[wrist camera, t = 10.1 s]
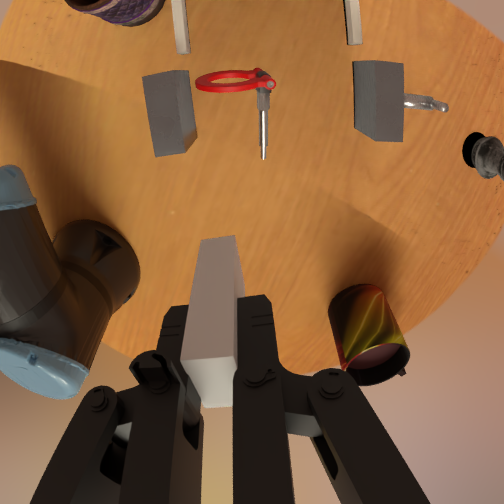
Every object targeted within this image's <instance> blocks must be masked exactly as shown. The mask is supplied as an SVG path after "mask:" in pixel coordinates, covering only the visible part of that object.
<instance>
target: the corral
mask: <svg viewBox="0 0 504 504" xmlns="http://www.w3.org/2000/svg"><path fill="white" fill-rule="evenodd" d="M171 1H172V12H173V22H174V31H175V40H176V49H177V54H181V55H184V54H189V53H191V48H190V39H189V30H188V20H187V10H186V0H171ZM343 7H344V17H345V28H346V40H347V45H360V44H363V42H362V29H361V18H360V8H359V0H343Z"/></svg>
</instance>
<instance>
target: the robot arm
mask: <svg viewBox="0 0 504 504" xmlns="http://www.w3.org/2000/svg"><path fill="white" fill-rule="evenodd" d="M36 203H37V200H36V198H34V197H33V195H32V193H31V191H30V188H29V186H28V183H27V181H26V178H25V176H24V174H23V172H22V170H21V169H20V168H19V167H17V166H15V165H5V166H1V167H0V370H1V371H2V372H3V373H4V374H5V375H7V376H8V377H9V378H11V379H12V380H13V381H15V382H16V383H18V384H19V385H21V386H23V387H24V388H26V389H28V390H31V391H32V392H35V393H37V394H40V395H43V396H46V397H49V398H54V399H69V398H72V397H74V396H75V395H76V394H77V393H78V392H79V390H80V388H81V386H82V384H83V382H84V380H85V377H87V376H88V374H89V370H90V368H91V365H92V362H93V360H94V357H95V354H96V352H97V349H98V347H99V344H100V342H101V339H102V337H103V334H104V332H105V330H106V327H107V325H108V322H109V320H110V318H111V316H112V314H114V313H115V312H116V311H117V310H118V309H119V308H120V307H121V306H122V305H123V304H124V303H126V302H127V301H128V300H129V299H130V298H131V297H132V296H133V295H134V293H135V291H136V289H137V287H138V285H139V281H140V266H139V262H138V259H137V257H136V254H135V252H134V251H133V249H132V247H131V246H130V245H129V243H128V242H127V241H126V240H125V239H124V238H123V237H122V236H121V235H120V234H119V233H118V232H116V231H115V230H113V229H112V228H110V227H109V226H107V225H105V224H102V223H100V222H97V221H92V220H77V221H73V222H70V223H68V224H67V225H65V226H64V227H63V228H62V229H61V230H60V231H59V232H58V233H57V235H56V236H55V238H54V240H53V243H52V242H51V240H50V237H49V235H48V233H47V230H46V228H45V226H44V223H43V221H42V218H41V216H40V213H39V211H38V208H37V206H36ZM159 336H160V338H159V340H158V344H157V348H156V350H151V351H146V352H144V353H142V354H140V355H138V356H137V357H136V358H135V359H134V360H133V361H132V362H131V364H130V366H129V369H130V371H131V372H132V374H133V375H134V377H135V378H136V380H137V381H138V383H139V385H138V386H135V387H133V388H130V389H126V390H123V391H120V392H115V391H114V390H113V389H112V388H110V387H108V386H98V387H94V388H93V389H91V390H90V391H89V392H88V393H87V394H86V395H85V396H84V398H83V400H82V402H81V403H80V405H79V407H78V409H77V410H76V412H75V414H74V416H73V418H72V420H71V421H70V423H69V425H68V427H67V429H66V431H65V433H64V435H63V436H62V438H61V440H60V442H59V444H58V446H57V448H56V450H55V452H54V454H53V456H52V458H51V460H50V462H49V464H48V466H47V468H46V470H45V472H44V474H43V476H42V478H41V480H40V482H39V484H38V487H37V489H36V491H35V493H34V495H33V497H32V500H31V502H30V504H201V478H202V453H203V452H202V451H203V432H204V420H203V416H202V415H201V413H200V406H201V402H202V404H203V406H204V407H205V408H213V407H230V406H233V504H295V498H294V488H293V478H292V469H291V460H290V450H289V441H288V433H289V434H296V435H301V436H308V437H310V439H311V441H312V443H313V445H314V447H315V449H316V452H317V454H318V456H319V458H320V460H321V462H322V465H323V466H324V468H325V471H326V473H327V475H328V477H329V479H330V481H331V484H332V486H333V488H334V490H335V492H336V494H337V496H338V498H339V500H340V502H341V504H430V502H429V500H428V499H427V497H426V495H425V494H424V492H423V491H422V488H421V487H420V485H419V484H418V482H417V480H416V479H415V477H414V475H413V474H412V472H411V470H410V469H409V467H408V465H407V464H406V462H405V460H404V459H403V458H402V455H401V454H400V452H399V451H398V449H397V447H396V446H395V444H394V442H393V441H392V439H391V438H390V436H389V434H388V433H387V431H386V429H385V428H384V426H383V425H382V423H381V421H380V420H379V418H378V417H377V415H376V413H375V412H374V410H373V408H372V407H371V405H370V404H369V402H368V400H367V399H366V397H365V396H364V394H363V393H362V391H361V389H360V388H359V386H358V385H357V383H356V381H355V380H354V378H353V377H352V376H351V375H350V374H349V373H348V372H346V371H343V370H341V369H335V368H329V369H324V370H321V371H319V372H317V373H316V374H314V375H313V376H304V375H298V374H294V373H292V372H290V371H288V370H286V369H285V368H284V367H283V366H282V365H281V363H280V362H279V357H278V349H277V341H276V333H275V326H274V319H273V312H272V304H271V302H270V301H269V299H268V298H267V297H266V296H265V294H263V295H256V296H248V297H245V284H244V279H243V274H242V269H241V264H240V259H239V254H238V249H237V243H236V238H235V235H232V236H225V237H219V238H212V239H205V240H201V243H200V248H199V253H198V259H197V264H196V269H195V274H194V280H193V285H192V291H191V296H190V302H189V305H180V306H171V308H170V309H169V310H168V312H167V313H166V314H165V316H164V319H163V323H162V329H161V331H160V335H159Z"/></svg>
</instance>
